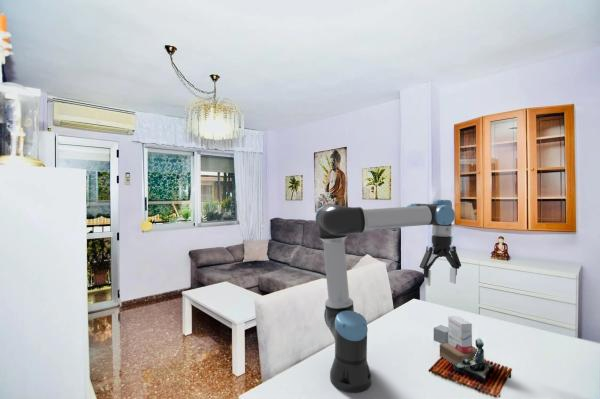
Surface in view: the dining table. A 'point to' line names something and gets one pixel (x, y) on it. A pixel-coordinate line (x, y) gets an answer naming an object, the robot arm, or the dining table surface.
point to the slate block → (441, 334)
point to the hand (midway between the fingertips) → (440, 283)
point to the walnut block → (455, 353)
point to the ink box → (460, 334)
